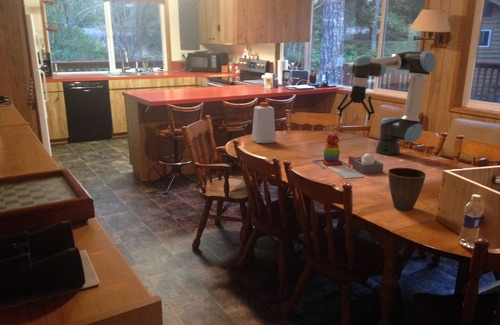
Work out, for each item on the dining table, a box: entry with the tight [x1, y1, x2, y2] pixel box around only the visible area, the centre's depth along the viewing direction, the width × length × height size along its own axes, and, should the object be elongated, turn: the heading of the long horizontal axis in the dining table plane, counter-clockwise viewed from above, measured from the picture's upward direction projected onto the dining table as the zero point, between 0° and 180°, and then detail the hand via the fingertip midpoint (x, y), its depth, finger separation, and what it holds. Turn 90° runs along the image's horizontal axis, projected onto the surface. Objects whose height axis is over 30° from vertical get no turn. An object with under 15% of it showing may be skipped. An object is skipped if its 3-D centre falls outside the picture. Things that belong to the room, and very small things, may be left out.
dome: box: [361, 153, 376, 164], centre depth 237 cm, size 7×7×8 cm
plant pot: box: [387, 167, 427, 212], centre depth 182 cm, size 15×15×16 cm
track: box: [311, 158, 365, 179], centre depth 242 cm, size 17×37×1 cm, turn 15°
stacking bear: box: [322, 133, 343, 167], centre depth 249 cm, size 11×10×18 cm
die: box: [347, 154, 362, 166], centre depth 250 cm, size 5×5×6 cm
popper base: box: [351, 158, 384, 175], centre depth 238 cm, size 12×12×5 cm
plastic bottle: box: [251, 101, 276, 144], centre depth 304 cm, size 15×15×28 cm
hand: (353, 124), depth 237 cm, fingers open, 13 cm apart
